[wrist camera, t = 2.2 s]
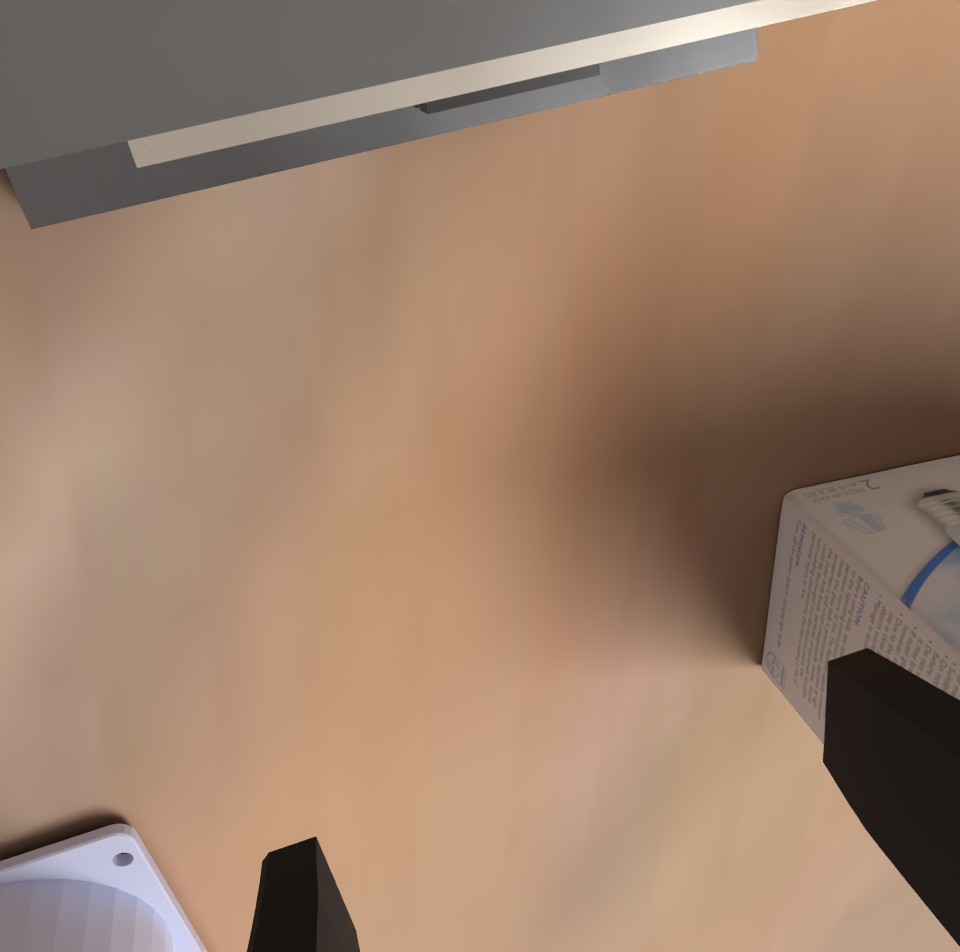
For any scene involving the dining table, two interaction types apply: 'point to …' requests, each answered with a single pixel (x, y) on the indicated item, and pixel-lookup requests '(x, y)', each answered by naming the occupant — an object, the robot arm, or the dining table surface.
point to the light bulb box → (866, 580)
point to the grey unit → (313, 80)
